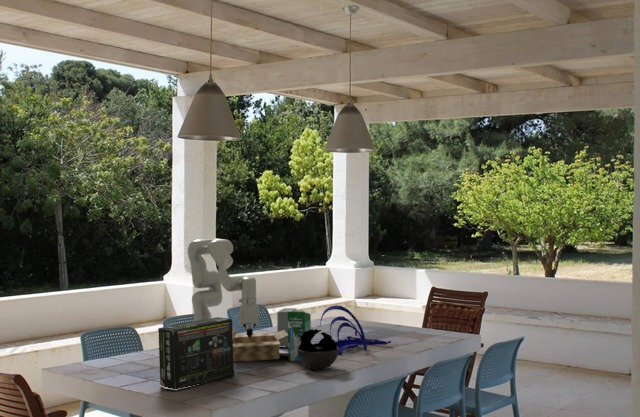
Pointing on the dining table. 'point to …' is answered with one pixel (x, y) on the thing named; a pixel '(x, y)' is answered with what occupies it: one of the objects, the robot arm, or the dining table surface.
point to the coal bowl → (317, 350)
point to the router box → (196, 352)
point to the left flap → (233, 332)
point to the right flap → (281, 335)
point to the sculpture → (350, 342)
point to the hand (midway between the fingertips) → (249, 336)
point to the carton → (255, 347)
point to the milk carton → (297, 331)
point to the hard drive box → (284, 323)
